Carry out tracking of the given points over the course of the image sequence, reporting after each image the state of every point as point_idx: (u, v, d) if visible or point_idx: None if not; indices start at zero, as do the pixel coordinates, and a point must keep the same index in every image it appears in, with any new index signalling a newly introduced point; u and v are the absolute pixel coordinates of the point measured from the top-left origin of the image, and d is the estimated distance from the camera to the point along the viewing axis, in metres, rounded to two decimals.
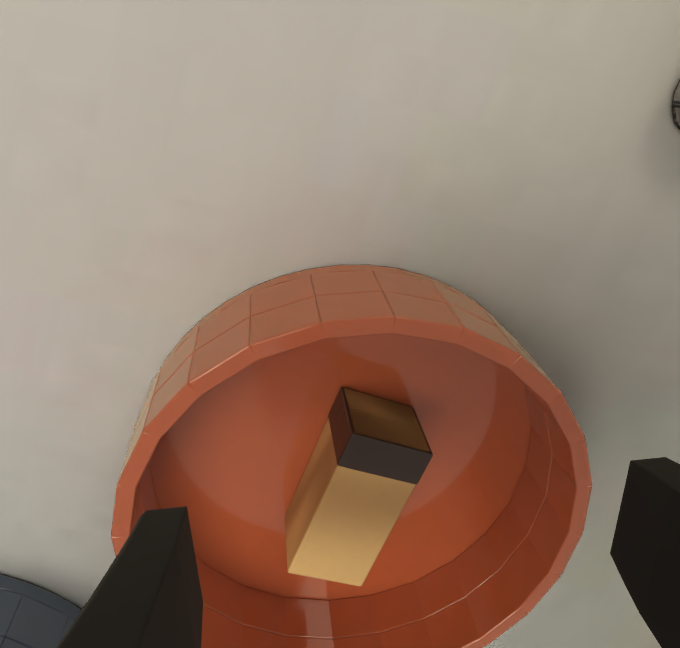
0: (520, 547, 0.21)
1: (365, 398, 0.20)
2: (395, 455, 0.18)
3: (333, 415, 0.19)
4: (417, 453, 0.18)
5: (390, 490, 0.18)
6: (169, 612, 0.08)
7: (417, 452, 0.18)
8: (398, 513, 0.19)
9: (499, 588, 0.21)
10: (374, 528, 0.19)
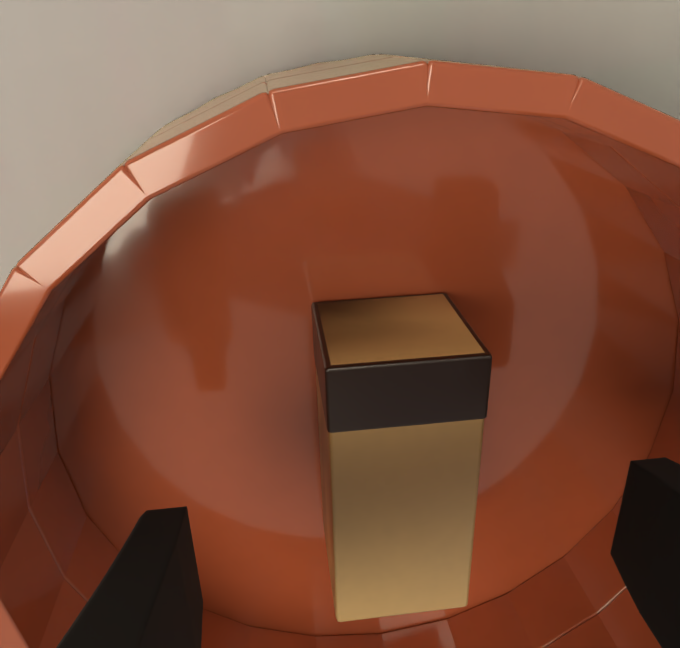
0: None
1: (356, 306, 0.11)
2: (422, 380, 0.09)
3: (315, 352, 0.11)
4: (462, 363, 0.10)
5: (443, 443, 0.10)
6: (169, 612, 0.08)
7: (461, 361, 0.09)
8: (475, 476, 0.10)
9: None
10: (445, 513, 0.11)
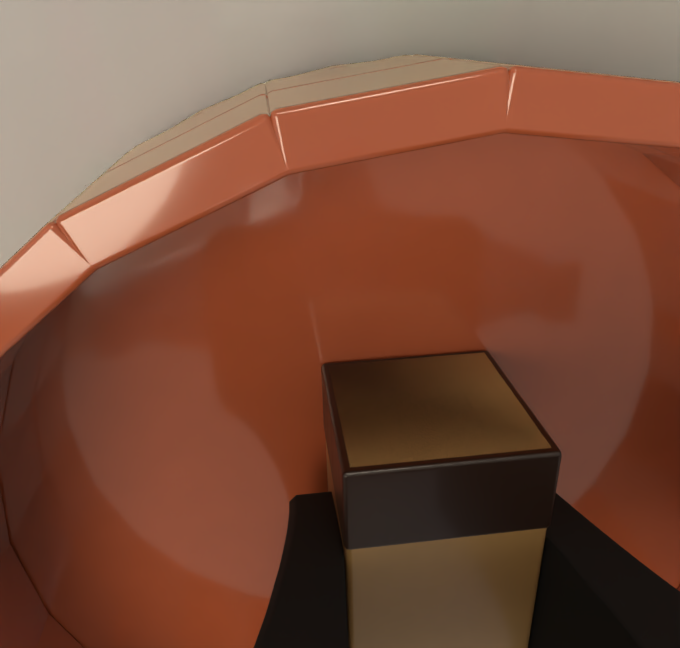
0: None
1: (377, 369, 0.09)
2: (470, 485, 0.07)
3: (326, 427, 0.09)
4: (522, 462, 0.07)
5: (493, 558, 0.08)
6: None
7: (521, 460, 0.07)
8: (532, 594, 0.08)
9: None
10: (491, 637, 0.08)
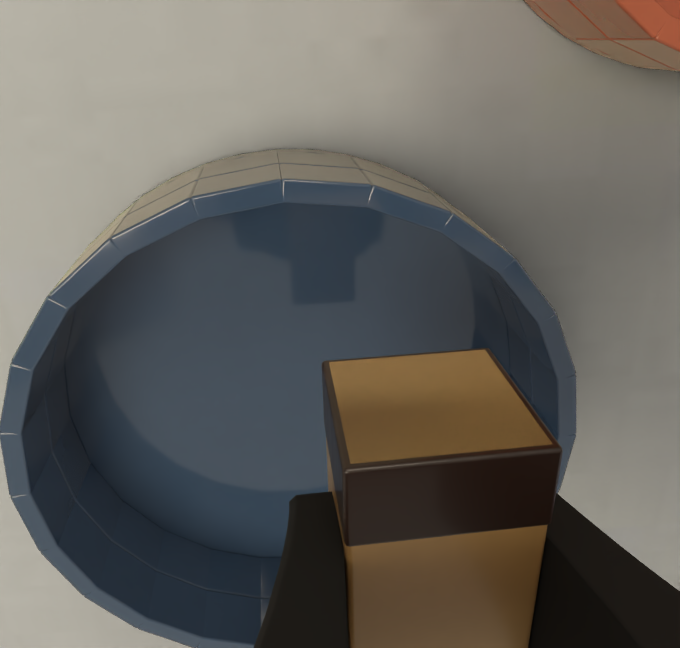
0: None
1: (377, 367, 0.09)
2: (471, 481, 0.07)
3: (326, 424, 0.09)
4: (523, 458, 0.07)
5: (493, 555, 0.08)
6: None
7: (522, 457, 0.07)
8: (532, 591, 0.08)
9: None
10: (492, 635, 0.08)
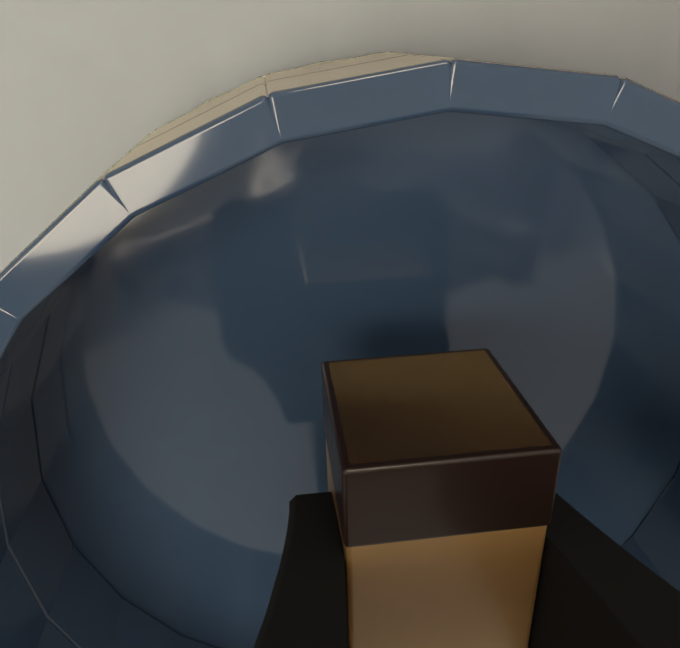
0: None
1: (376, 367, 0.09)
2: (470, 482, 0.07)
3: (325, 425, 0.09)
4: (522, 459, 0.07)
5: (493, 555, 0.08)
6: None
7: (521, 458, 0.07)
8: (532, 592, 0.08)
9: None
10: (492, 635, 0.08)
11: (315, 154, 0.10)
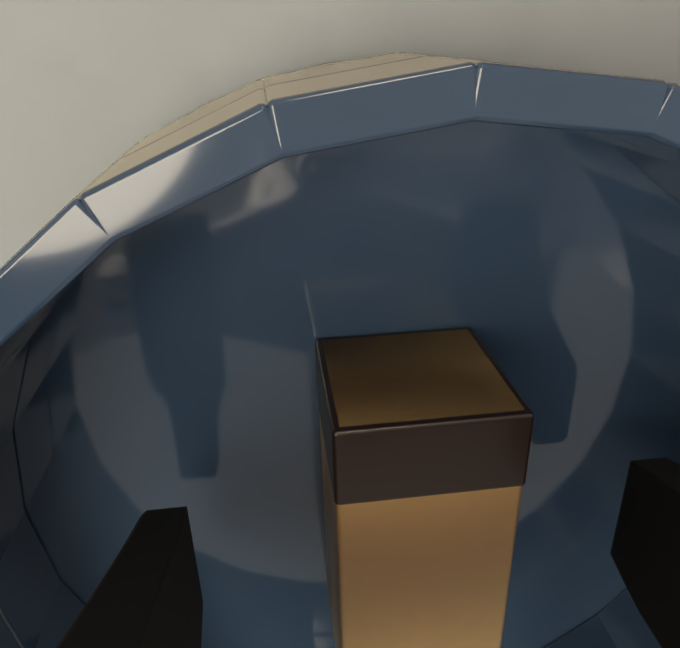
0: None
1: (366, 344, 0.10)
2: (450, 444, 0.08)
3: (319, 398, 0.10)
4: (498, 423, 0.08)
5: (472, 514, 0.08)
6: (169, 612, 0.08)
7: (496, 421, 0.08)
8: (509, 550, 0.09)
9: None
10: (472, 591, 0.09)
11: (318, 164, 0.09)
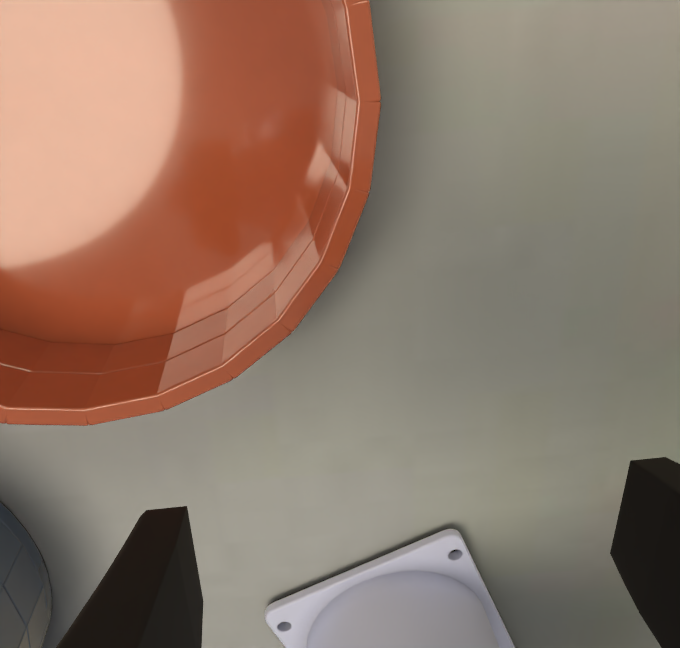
0: (344, 119, 0.14)
1: None
2: None
3: None
4: None
5: None
6: (169, 612, 0.08)
7: None
8: None
9: (336, 192, 0.14)
10: None
11: None
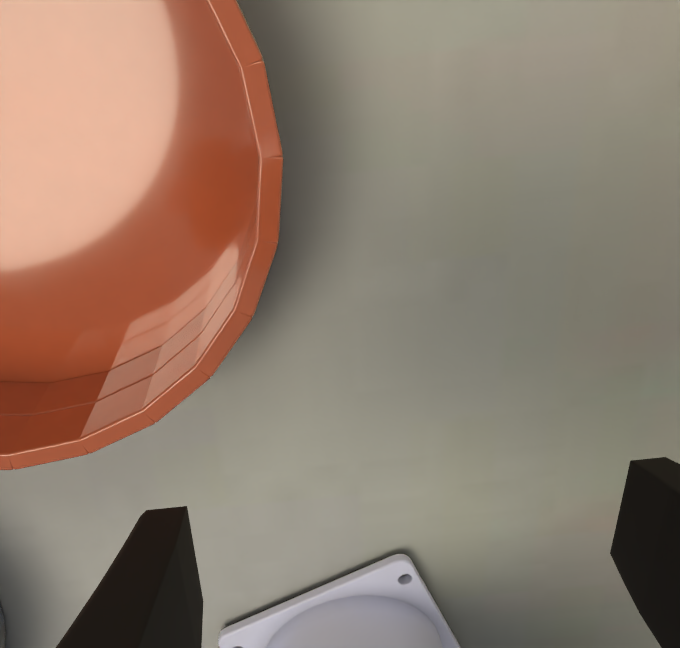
0: None
1: None
2: None
3: None
4: None
5: None
6: (169, 612, 0.08)
7: None
8: None
9: (251, 239, 0.14)
10: None
11: None
